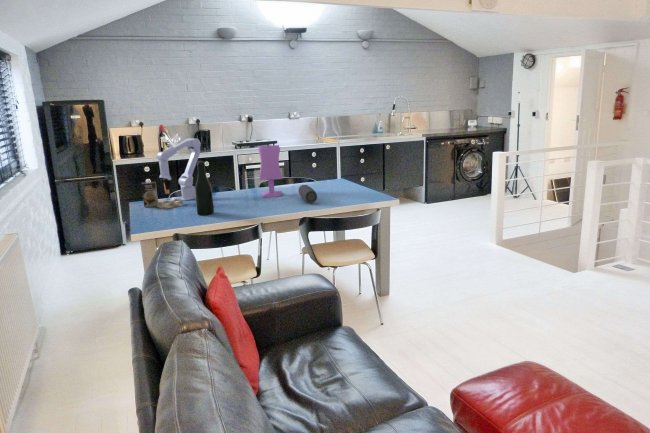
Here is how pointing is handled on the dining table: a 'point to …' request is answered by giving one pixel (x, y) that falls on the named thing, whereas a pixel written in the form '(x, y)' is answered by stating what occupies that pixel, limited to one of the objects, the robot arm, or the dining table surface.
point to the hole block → (169, 203)
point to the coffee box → (149, 194)
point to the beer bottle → (203, 192)
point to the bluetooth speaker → (307, 193)
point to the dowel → (165, 189)
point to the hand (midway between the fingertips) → (166, 189)
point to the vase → (270, 168)
